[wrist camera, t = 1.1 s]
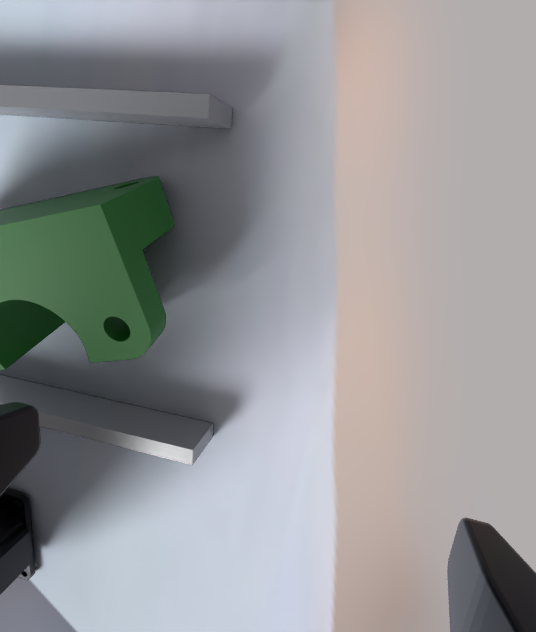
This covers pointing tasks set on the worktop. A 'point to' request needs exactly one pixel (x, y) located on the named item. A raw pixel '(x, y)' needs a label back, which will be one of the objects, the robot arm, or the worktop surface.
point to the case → (85, 410)
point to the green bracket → (83, 270)
